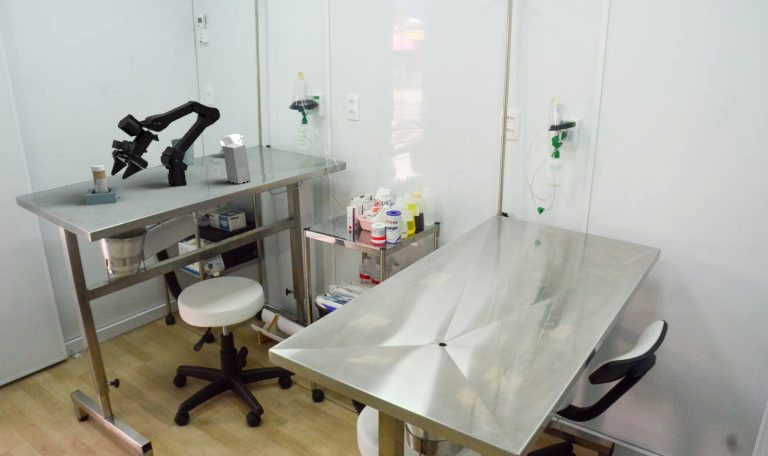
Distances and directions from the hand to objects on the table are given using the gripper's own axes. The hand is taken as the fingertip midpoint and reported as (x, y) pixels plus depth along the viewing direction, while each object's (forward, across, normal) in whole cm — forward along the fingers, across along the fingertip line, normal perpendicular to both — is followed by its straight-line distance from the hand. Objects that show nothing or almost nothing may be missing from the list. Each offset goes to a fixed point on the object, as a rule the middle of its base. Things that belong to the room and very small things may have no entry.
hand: (117, 177), depth 211 cm
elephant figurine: (-44, -29, +57) cm, 77 cm away
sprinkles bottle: (+10, 0, +1) cm, 10 cm away
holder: (+10, 0, +1) cm, 10 cm away
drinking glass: (-27, -33, +39) cm, 58 cm away
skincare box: (-24, +15, +37) cm, 47 cm away
